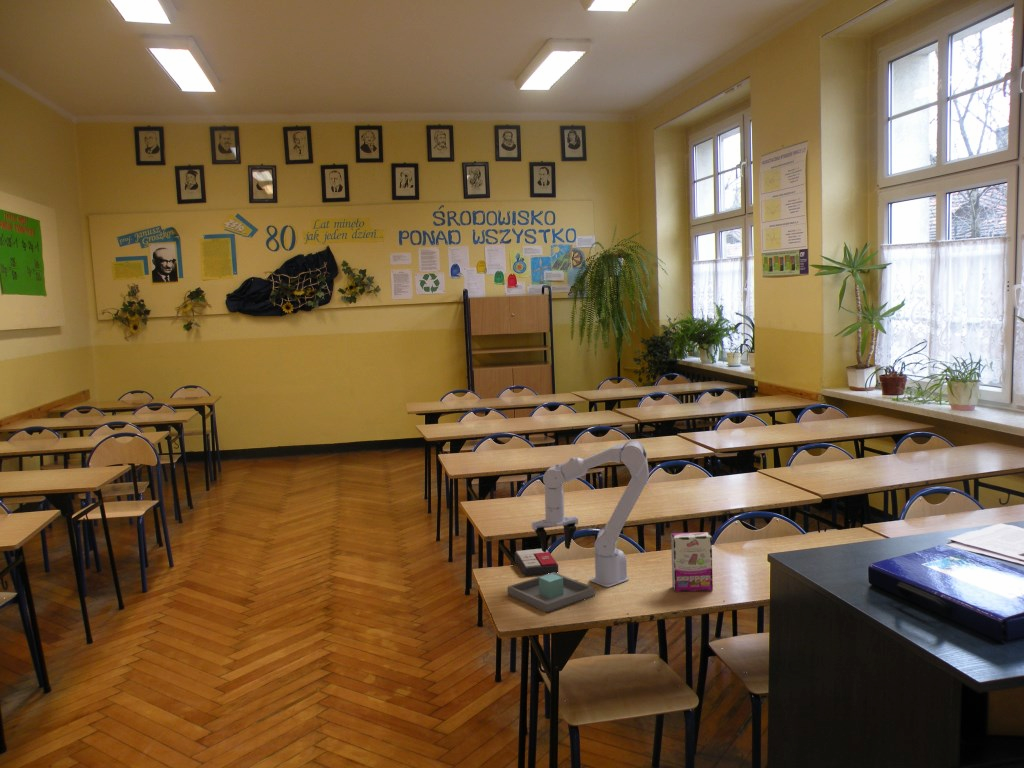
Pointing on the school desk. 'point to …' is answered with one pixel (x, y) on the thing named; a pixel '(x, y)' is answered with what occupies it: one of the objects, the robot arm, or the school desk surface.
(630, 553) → the school desk surface
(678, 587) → the candy bar box
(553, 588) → the teal cube
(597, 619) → the school desk surface
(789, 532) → the school desk surface
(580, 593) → the charcoal tray
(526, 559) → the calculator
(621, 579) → the robot arm
